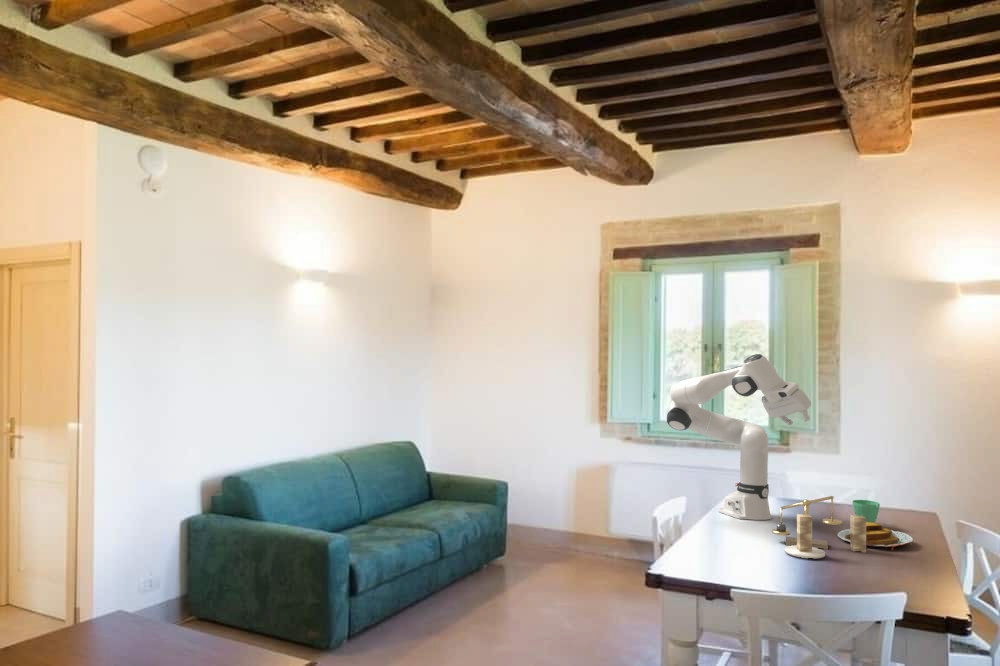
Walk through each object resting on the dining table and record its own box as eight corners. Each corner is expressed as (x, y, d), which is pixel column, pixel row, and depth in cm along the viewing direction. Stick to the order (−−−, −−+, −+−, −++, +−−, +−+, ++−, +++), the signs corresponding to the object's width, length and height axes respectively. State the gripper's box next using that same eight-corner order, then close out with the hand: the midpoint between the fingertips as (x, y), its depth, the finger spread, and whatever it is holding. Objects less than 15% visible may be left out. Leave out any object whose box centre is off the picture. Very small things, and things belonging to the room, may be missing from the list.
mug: (880, 531, 283) (879, 505, 283) (852, 528, 287) (852, 503, 287) (879, 523, 296) (879, 499, 296) (852, 520, 300) (852, 496, 301)
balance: (771, 543, 262) (771, 492, 263) (772, 538, 269) (772, 489, 269) (842, 551, 253) (842, 498, 254) (841, 546, 259) (841, 495, 260)
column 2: (854, 551, 253) (854, 517, 253) (850, 548, 256) (850, 515, 257) (866, 552, 252) (866, 518, 252) (862, 549, 256) (862, 515, 256)
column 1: (799, 551, 246) (799, 516, 247) (796, 548, 250) (796, 514, 251) (812, 552, 246) (812, 517, 246) (808, 549, 250) (808, 514, 250)
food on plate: (911, 556, 249) (910, 537, 249) (833, 545, 263) (833, 527, 263) (914, 540, 271) (914, 522, 271) (842, 530, 284) (842, 514, 284)
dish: (776, 552, 250) (776, 548, 250) (800, 547, 257) (800, 543, 257) (809, 562, 239) (809, 557, 239) (833, 557, 246) (833, 552, 246)
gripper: (754, 401, 276) (775, 431, 275) (789, 391, 257) (812, 422, 257) (764, 393, 279) (785, 422, 278) (800, 381, 260) (823, 413, 259)
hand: (799, 422), depth 267 cm, fingers open, 8 cm apart
